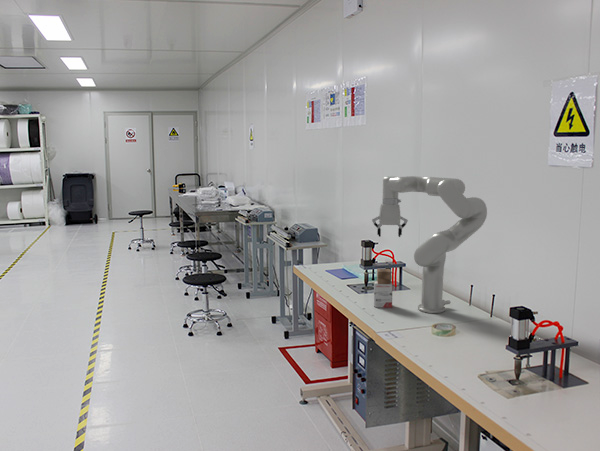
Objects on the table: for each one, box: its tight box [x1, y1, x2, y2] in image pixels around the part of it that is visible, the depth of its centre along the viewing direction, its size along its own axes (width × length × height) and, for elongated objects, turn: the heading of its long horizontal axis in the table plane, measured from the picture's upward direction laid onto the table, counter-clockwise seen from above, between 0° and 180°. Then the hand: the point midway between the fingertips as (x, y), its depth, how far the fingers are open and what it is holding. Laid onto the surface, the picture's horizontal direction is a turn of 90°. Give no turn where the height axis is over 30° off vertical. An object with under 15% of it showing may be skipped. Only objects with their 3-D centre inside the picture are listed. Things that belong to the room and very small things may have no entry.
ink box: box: [373, 281, 393, 309], centre depth 258 cm, size 9×5×12 cm, turn 85°
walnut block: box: [376, 268, 392, 284], centre depth 256 cm, size 6×6×6 cm
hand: (389, 236), depth 264 cm, fingers open, 9 cm apart
